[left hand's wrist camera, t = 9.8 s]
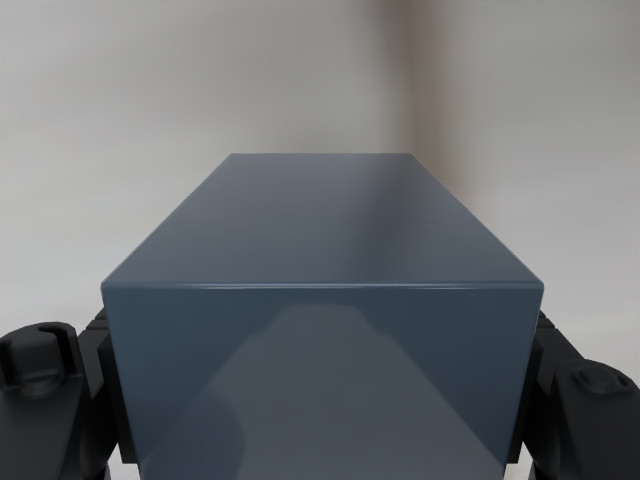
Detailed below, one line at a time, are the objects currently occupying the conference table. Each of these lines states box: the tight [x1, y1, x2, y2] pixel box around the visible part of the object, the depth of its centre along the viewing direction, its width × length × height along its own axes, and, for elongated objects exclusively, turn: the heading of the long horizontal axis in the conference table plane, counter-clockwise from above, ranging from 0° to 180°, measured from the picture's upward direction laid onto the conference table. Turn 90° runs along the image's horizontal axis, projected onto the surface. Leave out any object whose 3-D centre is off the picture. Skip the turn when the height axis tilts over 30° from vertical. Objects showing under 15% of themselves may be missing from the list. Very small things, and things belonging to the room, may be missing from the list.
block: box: [100, 154, 544, 480], centre depth 12 cm, size 6×6×10 cm
